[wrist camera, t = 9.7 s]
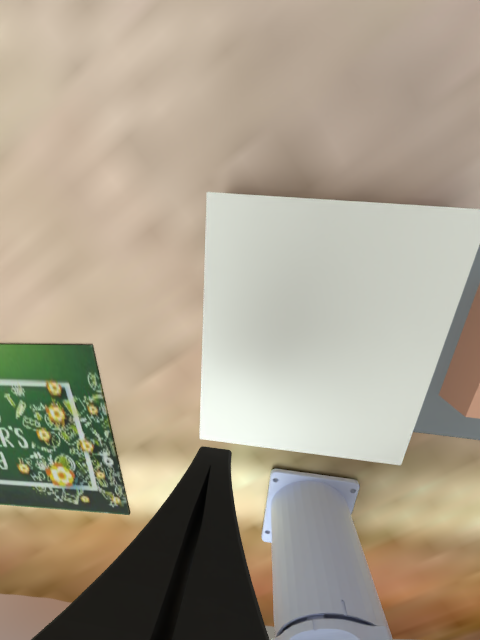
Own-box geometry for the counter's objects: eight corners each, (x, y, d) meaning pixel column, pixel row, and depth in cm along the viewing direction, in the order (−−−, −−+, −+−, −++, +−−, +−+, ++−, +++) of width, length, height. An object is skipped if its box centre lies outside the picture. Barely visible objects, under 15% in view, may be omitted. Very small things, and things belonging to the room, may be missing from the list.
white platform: (374, 423, 20) (400, 465, 16) (211, 404, 21) (199, 438, 17) (433, 220, 15) (491, 209, 11) (220, 205, 16) (206, 192, 12)
